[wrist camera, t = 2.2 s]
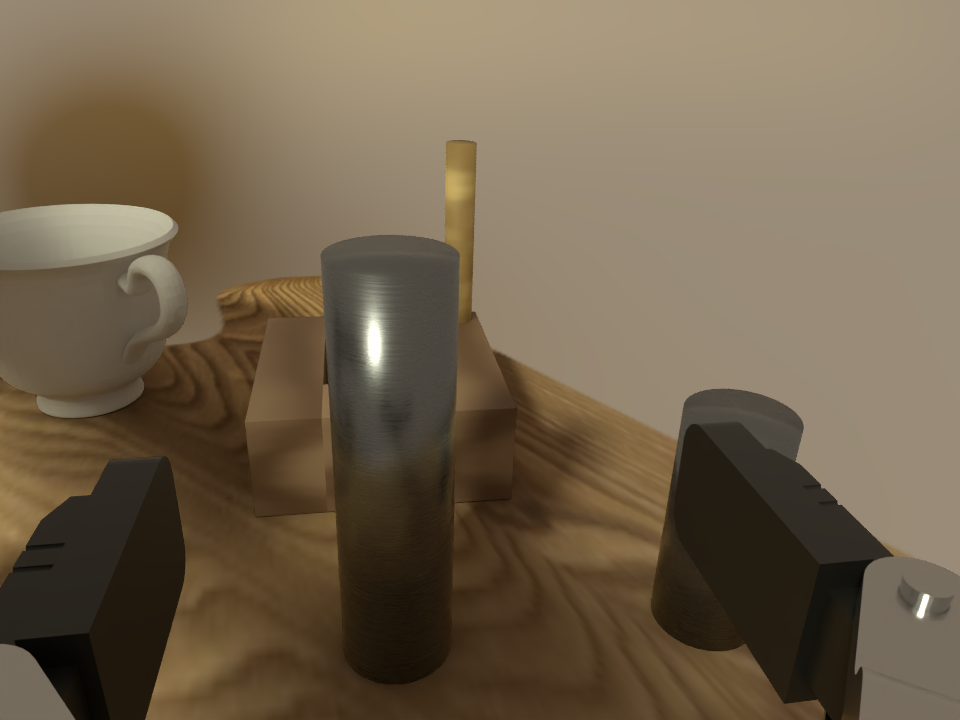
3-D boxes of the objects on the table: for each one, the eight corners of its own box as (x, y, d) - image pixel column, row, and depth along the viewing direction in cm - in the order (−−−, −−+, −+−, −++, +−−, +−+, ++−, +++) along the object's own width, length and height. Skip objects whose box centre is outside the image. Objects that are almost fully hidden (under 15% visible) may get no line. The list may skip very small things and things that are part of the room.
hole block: (255, 517, 35) (218, 190, 28) (275, 395, 45) (251, 138, 39) (511, 498, 37) (530, 189, 30) (472, 386, 47) (480, 139, 41)
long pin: (324, 668, 27) (295, 266, 21) (369, 593, 31) (355, 229, 24) (431, 695, 26) (434, 284, 20) (464, 615, 30) (475, 243, 23)
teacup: (99, 492, 36) (56, 295, 32) (-74, 410, 43) (-129, 236, 38) (277, 393, 46) (263, 232, 41) (114, 338, 52) (87, 193, 48)
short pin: (647, 637, 29) (681, 433, 25) (654, 569, 32) (685, 382, 29) (757, 661, 28) (810, 454, 24) (751, 589, 31) (797, 398, 28)
